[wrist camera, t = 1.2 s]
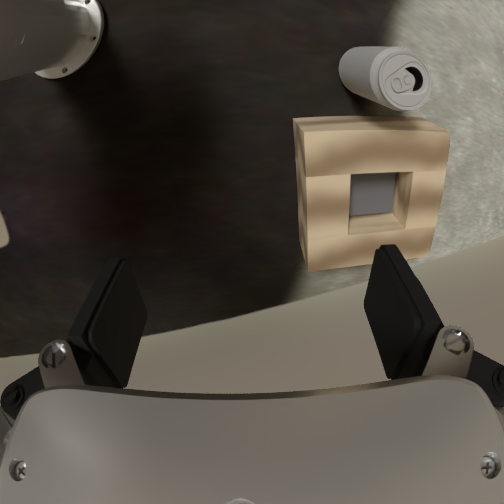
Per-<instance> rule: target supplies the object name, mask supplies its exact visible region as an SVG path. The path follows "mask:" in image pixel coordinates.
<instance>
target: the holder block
mask: <svg viewBox="0 0 504 504" xmlns="http://www.w3.org/2000/svg"><path fill="white" fill-rule="evenodd" d="M293 126H294V140H295V155H296V172H297V192H298V214H299V241H300V244H301V248H302V252H303V256H304V259H305V263H306V267H307V271H308V272H310V271H318V270H327V269H335V268H344V267H352V266H360V265H368V264H373V259H374V254H375V250H376V249H379V247H380V246H381V245H387V244H395V245H396V246H397V247H398V249H399V250H400V252H401V253H402V255H403V257H404V258H405V260H406V259H413V258H420V257H427V256H429V252H430V248H431V244H432V240H433V236H434V232H435V227H436V223H437V218H438V214H439V209H440V204H441V198H442V193H443V187H444V181H445V175H446V168H447V161H448V153H449V145H450V135H451V133H450V132H448V131H446V130H445V129H443V128H441V127H439V126H437V125H435V124H433V123H431V122H429V121H427V120H425V119H423V118H414V117H392V116H330V117H308V118H293ZM385 172H396V176H395V187H394V196H393V204H392V212H390V213H377V214H366V215H354V216H349V204H350V179H351V174H362V173H385Z"/></svg>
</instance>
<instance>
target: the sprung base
mask: <svg viewBox="0 0 504 504" xmlns="http://www.w3.org/2000/svg"><path fill="white" fill-rule="evenodd" d="M395 176H396V172H385V173H362V174H351V179H350V204H349V216H354V215H366V214H377V213H390V212H392V204H393V196H394V187H395Z"/></svg>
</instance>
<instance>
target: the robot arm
mask: <svg viewBox="0 0 504 504" xmlns="http://www.w3.org/2000/svg"><path fill="white" fill-rule="evenodd" d="M90 1H91V2H90ZM89 2H90V3H89ZM103 29H104V14H103V9H102V7H101V5H100V3H99V1H98V0H0V81H2V80H5V79H9V78H12V77H16V76H20V75H24V74H28V73H32V72H35V73H36V74H37V75H39V76H41V77H43V78H49V79H55V78H61V77H65V76H67V75H70V74H72V73H74V72H76V71H77V70H79V69H80V68H81V67H82V66H84V65H85V64H86V63H87V61H88V60H89V59H90V58H91V57H92V55H93V54H94V52H95V51H96V49H97V47H98V45H99V43H100V41H101V37H102V34H103ZM95 37H96V39H94V38H95ZM364 309H365V312H366V315H367V318H368V321H369V324H370V327H371V330H372V333H373V336H374V339H375V342H376V345H377V347H378V350H379V354H380V357H381V360H382V363H383V367H384V370H385V373H386V376H387V378H388V379H390V378H391V380H389V381H383V382H376V383H369V384H361V385H353V386H346V387H337V388H329V389H318V390H307V391H293V392H277V393H253V394H200V393H199V394H198V393H173V392H157V391H144V390H133V389H123V387H124V388H125V387H126V386H127V384H128V381H129V377H130V373H131V370H132V366H133V363H134V359H135V356H136V353H137V349H138V346H139V342H140V339H141V336H142V333H143V330H144V326H145V323H146V320H147V310H146V308H145V305H144V303H143V300H142V297H141V295H140V292H139V289H138V287H137V284H136V281H135V279H134V276H133V273H132V270H131V267H130V264H129V262H128V261H125V260H124V258H109V259H108V260H107V262H106V263H105V265H104V267H103V269H102V270H101V272H100V274H99V276H98V277H97V279H96V281H95V283H94V285H93V286H92V288H91V290H90V292H89V294H88V296H87V298H86V300H85V301H84V303H83V305H82V307H81V309H80V311H79V313H78V315H77V317H76V319H75V321H74V323H73V325H72V327H71V329H70V331H69V333H68V339H67V341H66V342H65V341H62V340H56V341H53V342H50V343H49V344H47V345H46V346H45V347H44V348H43V349H42V351H41V353H40V354H39V358H38V364H39V366H38V367H37V368H35V369H33V370H32V371H30V372H29V373H27V374H25V375H24V376H22V377H21V378H19V379H17V380H16V381H14V382H13V383H11V384H10V385H8V386H7V387H6V388H5V390H4V391H3V393H2V395H1V401H0V402H1V406H0V504H504V366H503V365H501V364H499V363H497V362H496V361H494V360H491V359H490V358H488V357H486V356H484V355H482V354H480V353H478V352H476V351H474V342H473V339H472V337H471V336H470V334H469V333H468V332H467V331H466V330H464V329H462V328H461V327H458V326H453V325H449V326H445V327H444V325H443V323H442V321H441V319H440V317H439V315H438V313H437V312H436V310H435V308H434V306H433V304H432V302H431V301H430V299H429V297H428V295H427V293H426V292H425V290H424V288H423V286H422V285H421V283H420V281H419V280H418V279H417V278H416V276H415V275H414V273H413V271H412V270H411V268H410V266H409V265H408V263H407V261H406V260H405V258H404V257H403V255H402V253H401V252H400V250H399V249H398V247H397V246H396V245H395V244H387V245H381V246H380V247H379V249H376V250H375V254H374V259H373V264H372V269H371V273H370V278H369V282H368V287H367V291H366V295H365V299H364Z"/></svg>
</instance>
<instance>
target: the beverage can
mask: <svg viewBox="0 0 504 504" xmlns="http://www.w3.org/2000/svg"><path fill="white" fill-rule="evenodd" d="M339 75H340V78H341V81H342V83H343V84H344V85H345V87H346V88H347V89H349V90H350V91H351V92H353V93H355V94H357V95H360V96H362V97H365V98H367V99H369V100H372V101H374V102H376V103H379V104H381V105H383V106H385V107H388V108H390V109H392V110H396V111H408V110H414V109H417V108H419V107H421V106H422V105H423V104H424V103H425V102H426V101H427V100H428V98H429V96H430V94H431V89H432V77H431V73H430V71H429V68H428V67H427V65H426V63H425V62H424V61H423V60H422V59H421V58H420V57H419V56H417V55H416V54H414V53H413V52H411V51H410V50H408V49H405V48H401V47H355V48H352V49H350V50H348V51H347V52H346V53H345V54H344V55H343V56H342V58H341V60H340V63H339Z"/></svg>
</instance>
